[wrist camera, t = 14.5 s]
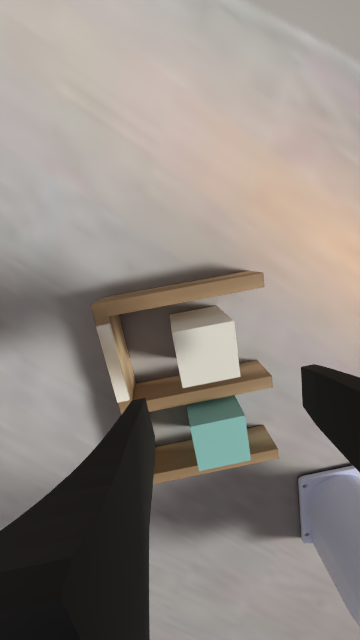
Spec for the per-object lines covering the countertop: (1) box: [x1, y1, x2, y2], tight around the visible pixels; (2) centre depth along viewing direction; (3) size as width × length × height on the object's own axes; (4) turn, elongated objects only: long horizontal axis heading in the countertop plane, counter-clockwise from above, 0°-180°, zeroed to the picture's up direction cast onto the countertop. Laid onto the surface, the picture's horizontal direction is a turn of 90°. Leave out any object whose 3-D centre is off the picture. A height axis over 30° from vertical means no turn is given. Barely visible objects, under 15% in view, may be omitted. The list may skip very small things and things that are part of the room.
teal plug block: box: [186, 395, 251, 471], centre depth 20 cm, size 4×4×5 cm
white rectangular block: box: [170, 306, 241, 388], centre depth 18 cm, size 4×4×5 cm
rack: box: [91, 271, 279, 484], centre depth 20 cm, size 16×12×3 cm
